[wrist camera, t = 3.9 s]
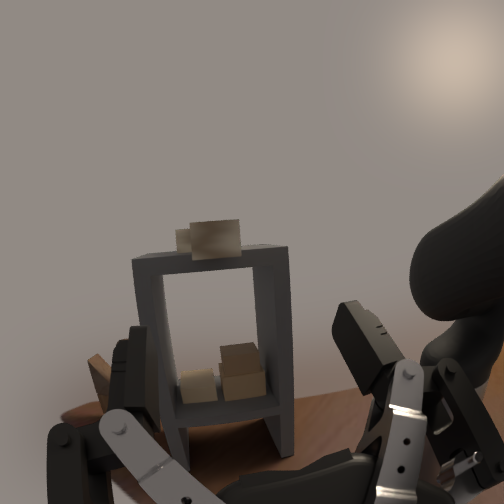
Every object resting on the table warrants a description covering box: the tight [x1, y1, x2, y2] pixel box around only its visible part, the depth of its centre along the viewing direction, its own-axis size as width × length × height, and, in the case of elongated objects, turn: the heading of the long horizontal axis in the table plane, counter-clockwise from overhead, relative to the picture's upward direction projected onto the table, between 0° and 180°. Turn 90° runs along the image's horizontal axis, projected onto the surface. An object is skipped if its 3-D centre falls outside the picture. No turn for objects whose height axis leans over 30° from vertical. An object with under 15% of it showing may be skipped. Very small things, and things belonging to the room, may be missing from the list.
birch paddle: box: [176, 219, 242, 260], centre depth 33 cm, size 8×20×3 cm, turn 12°
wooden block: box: [88, 339, 129, 414], centre depth 44 cm, size 4×11×18 cm, turn 83°
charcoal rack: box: [132, 244, 294, 471], centre depth 39 cm, size 18×12×32 cm, turn 102°
